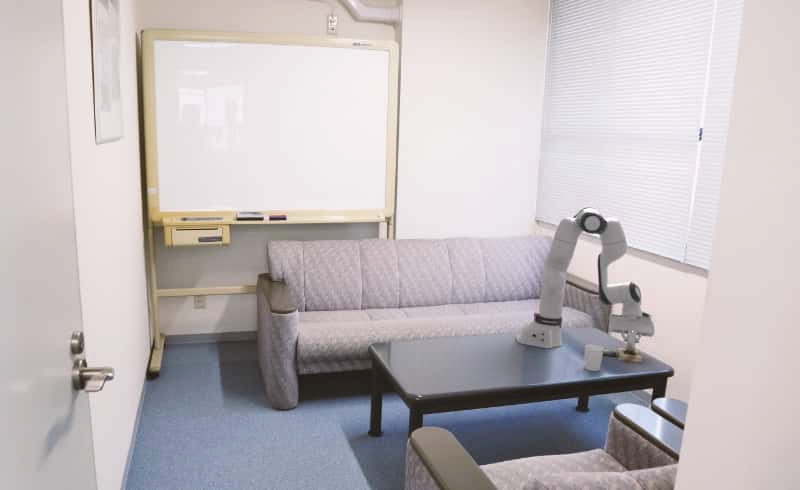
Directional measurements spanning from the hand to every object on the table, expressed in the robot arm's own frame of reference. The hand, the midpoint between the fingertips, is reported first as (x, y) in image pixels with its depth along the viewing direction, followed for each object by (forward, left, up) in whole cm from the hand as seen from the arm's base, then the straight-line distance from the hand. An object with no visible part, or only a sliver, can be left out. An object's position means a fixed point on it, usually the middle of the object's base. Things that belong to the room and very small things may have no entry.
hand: (631, 341), depth 285 cm
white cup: (-18, -20, -8) cm, 28 cm away
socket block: (0, +1, -8) cm, 8 cm away
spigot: (0, +1, -7) cm, 7 cm away
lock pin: (-10, +1, -6) cm, 12 cm away
